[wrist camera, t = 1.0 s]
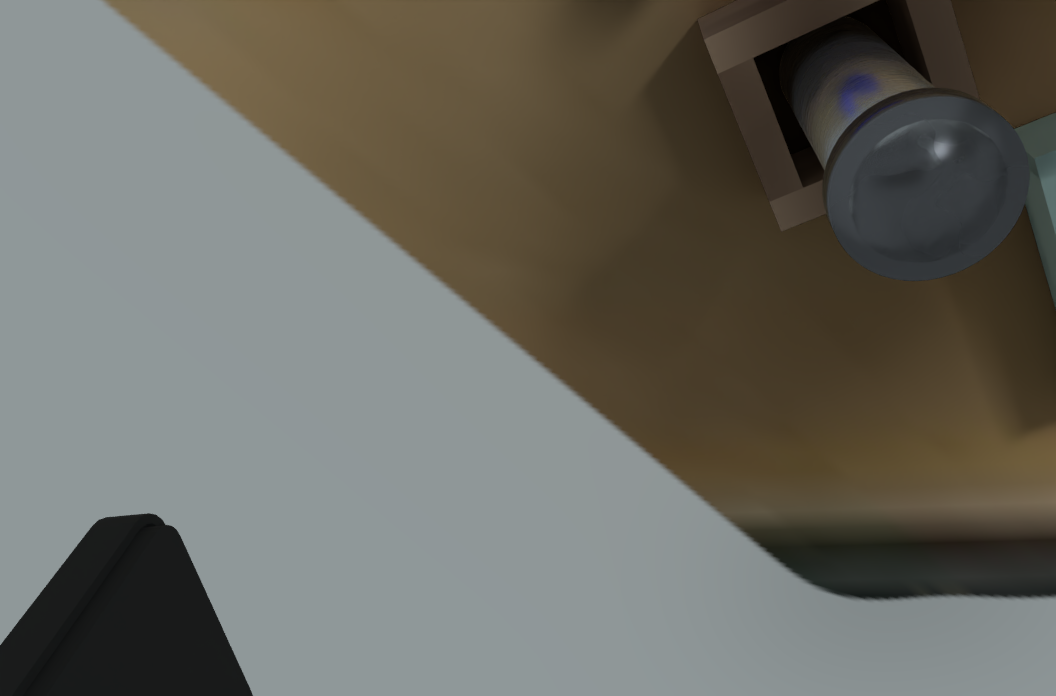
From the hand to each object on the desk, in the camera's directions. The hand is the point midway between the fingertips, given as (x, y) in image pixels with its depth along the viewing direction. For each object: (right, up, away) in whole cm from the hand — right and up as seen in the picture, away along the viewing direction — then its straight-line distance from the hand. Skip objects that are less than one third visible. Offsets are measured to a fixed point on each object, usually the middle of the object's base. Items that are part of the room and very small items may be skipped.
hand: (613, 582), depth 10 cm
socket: (+8, +11, +19) cm, 23 cm away
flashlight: (+8, +11, +19) cm, 23 cm away
